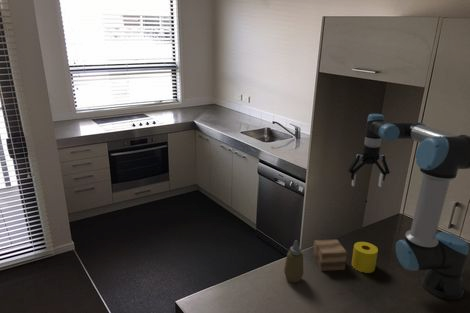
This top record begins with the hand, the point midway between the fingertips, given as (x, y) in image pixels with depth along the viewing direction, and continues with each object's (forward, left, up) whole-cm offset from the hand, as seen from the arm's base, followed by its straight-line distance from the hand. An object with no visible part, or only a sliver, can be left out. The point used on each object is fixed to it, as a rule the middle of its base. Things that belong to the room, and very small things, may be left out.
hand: (366, 185), depth 183 cm
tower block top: (-26, +27, -23) cm, 44 cm away
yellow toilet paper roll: (-29, +12, -27) cm, 42 cm away
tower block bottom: (-26, +27, -27) cm, 46 cm away
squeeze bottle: (-36, +46, -27) cm, 64 cm away
